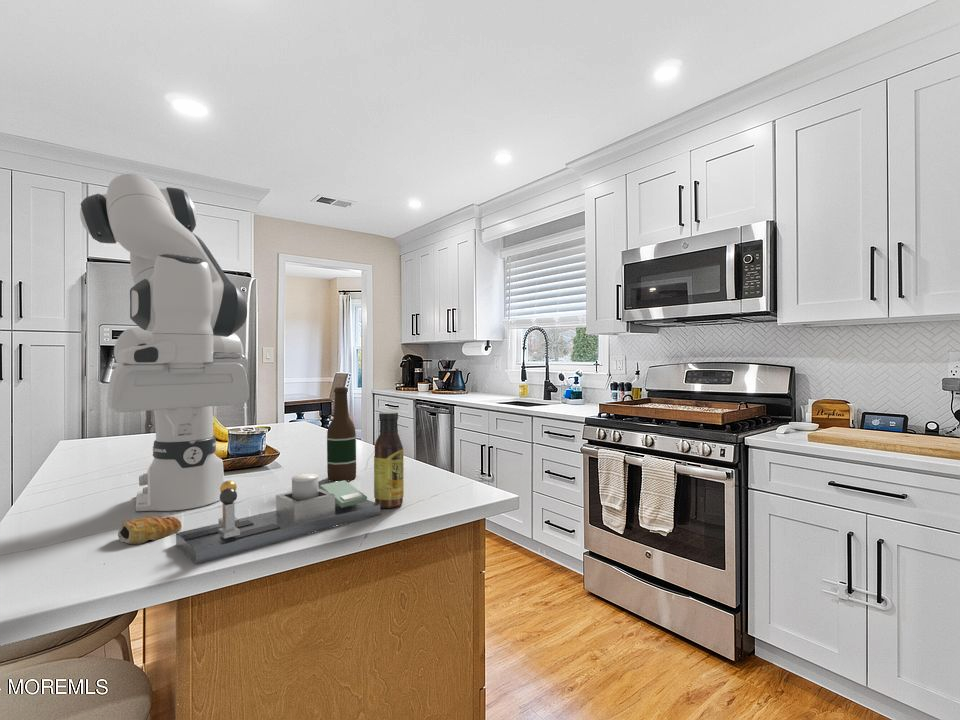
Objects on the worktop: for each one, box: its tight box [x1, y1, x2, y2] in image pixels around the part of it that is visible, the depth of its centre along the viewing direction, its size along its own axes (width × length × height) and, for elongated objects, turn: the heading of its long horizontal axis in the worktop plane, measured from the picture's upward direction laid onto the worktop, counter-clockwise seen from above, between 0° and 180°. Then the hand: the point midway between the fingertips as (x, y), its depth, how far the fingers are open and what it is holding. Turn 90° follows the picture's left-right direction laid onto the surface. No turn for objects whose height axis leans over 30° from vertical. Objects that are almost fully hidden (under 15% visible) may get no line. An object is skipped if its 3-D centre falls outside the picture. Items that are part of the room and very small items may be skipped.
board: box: [175, 487, 381, 565], centre depth 93 cm, size 12×34×6 cm, turn 135°
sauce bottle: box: [373, 411, 405, 509], centre depth 108 cm, size 7×6×20 cm
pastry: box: [117, 515, 182, 545], centre depth 91 cm, size 9×7×4 cm
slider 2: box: [218, 488, 240, 538], centre depth 83 cm, size 3×3×8 cm
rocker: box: [319, 480, 368, 508], centre depth 102 cm, size 9×6×1 cm, turn 45°
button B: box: [291, 473, 320, 501], centre depth 96 cm, size 5×5×4 cm
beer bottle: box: [326, 386, 357, 482], centre depth 132 cm, size 8×8×24 cm
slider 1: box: [218, 480, 240, 526], centre depth 88 cm, size 3×3×8 cm
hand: (183, 435), depth 84 cm, fingers closed
